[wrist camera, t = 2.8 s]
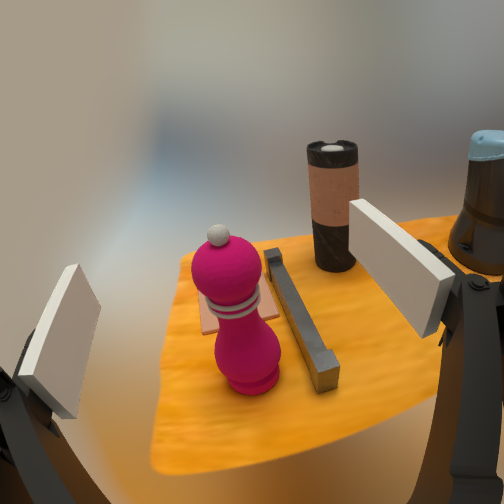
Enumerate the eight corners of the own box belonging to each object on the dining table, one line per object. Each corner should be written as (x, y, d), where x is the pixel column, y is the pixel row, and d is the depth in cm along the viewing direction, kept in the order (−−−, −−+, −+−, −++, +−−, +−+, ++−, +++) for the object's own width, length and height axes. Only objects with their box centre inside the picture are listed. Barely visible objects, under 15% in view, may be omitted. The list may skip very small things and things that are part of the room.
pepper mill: (277, 346, 37) (255, 199, 27) (289, 392, 31) (269, 238, 21) (222, 356, 37) (176, 215, 27) (226, 403, 31) (166, 259, 20)
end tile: (279, 316, 42) (279, 313, 42) (203, 334, 41) (202, 332, 41) (262, 273, 51) (261, 270, 51) (198, 288, 50) (197, 285, 50)
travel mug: (337, 279, 47) (335, 154, 36) (304, 260, 52) (294, 147, 42) (366, 259, 50) (368, 144, 39) (334, 243, 55) (329, 137, 45)
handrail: (337, 387, 31) (340, 365, 28) (317, 394, 30) (318, 372, 28) (280, 269, 51) (277, 247, 49) (266, 273, 51) (263, 250, 48)
